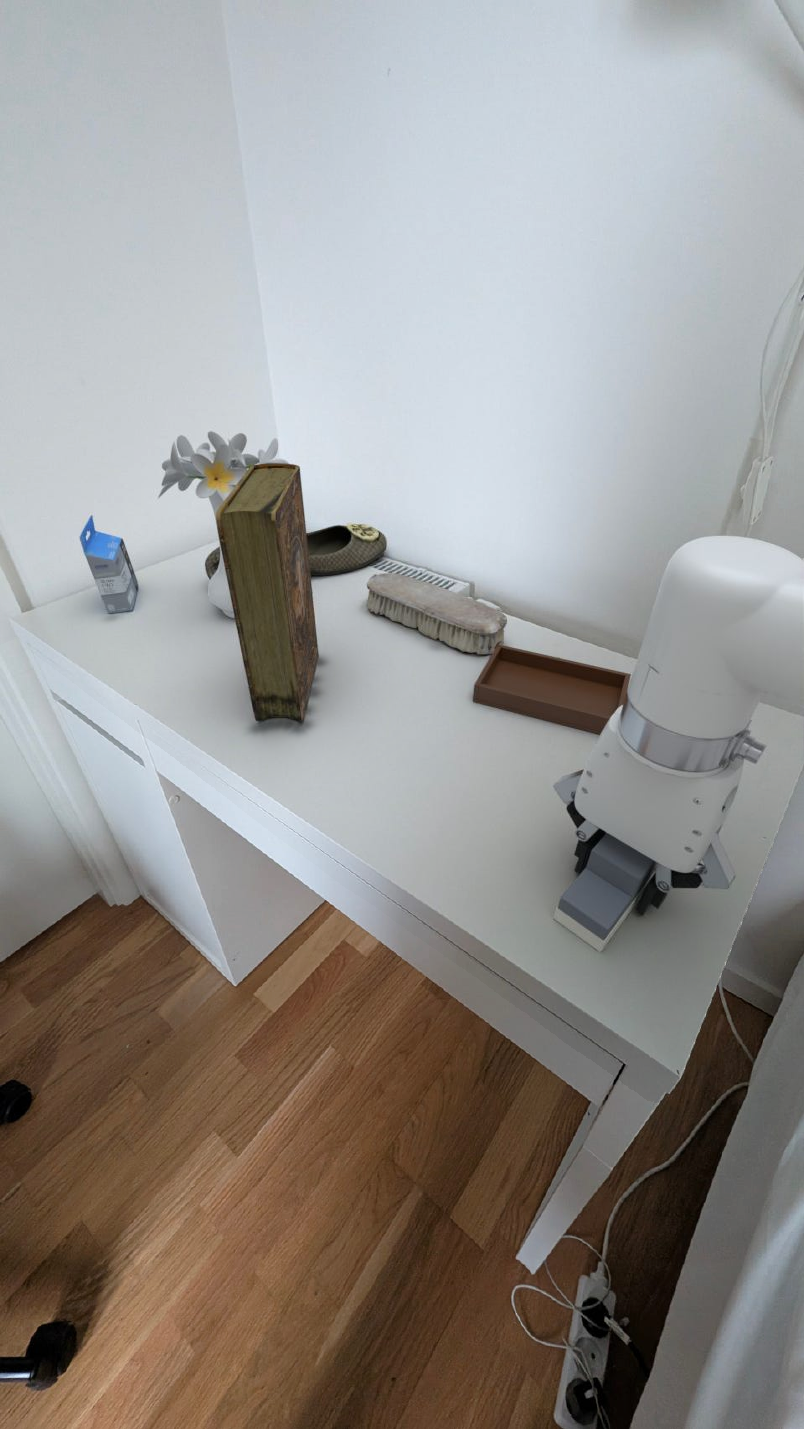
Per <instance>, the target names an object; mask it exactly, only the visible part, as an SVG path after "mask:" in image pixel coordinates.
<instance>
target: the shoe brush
mask: <svg viewBox="0 0 804 1429" xmlns="http://www.w3.org/2000/svg"><path fill="white" fill-rule="evenodd" d="M366 587H367V590H368V594H367V595H368V596H367V600H366V608H367V609H368V610H369V611H370V613H371V612H374V614H376V615H381V616H382V615H383V616H385V617H386V618H389V619H390V620H391V621H393V622H398V623H401V624H402V625H403V626H404V627H405V626H406V627H408V628H412V629H417V628H418V631H419V632H420V633H421V634H423V635H424V636H426V637H430V638H431V639H434V641H436V640H437V639H439V641H440V642H444V643H445V644H446V645H447V646H450V647H451V648H455V649H458V650H460V651H461V652H462V653H464V652H467V653H469V654H470V653H476V654H477V655H489V654H490V655H492V654H493V652H494V650H495V649H496V647H497V645H498V644H499V645H504V641H505V628H506V626H507V623H508V619H507V616H506V615H505V614H504V613H503V612H502V611H499V610H497V609H495V608H493V607H491V606H488V605H486V603H484V602H481V601H478V600H475V599H473V598H470V597H468V596H466V595H463V594H461V593H457V592H455V591H453V590H450V589H447V588H445V587H442V586H439V585H437V584H433V583H431V582H428V581H424V580H421V579H417V578H414V577H411V576H407V575H404V574H400V573H395V572H384V573H379V574H373V575H372V576H370V578H369V579H368V580H367V582H366Z"/></svg>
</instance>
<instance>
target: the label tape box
mask: <svg viewBox="0 0 804 1429" xmlns="http://www.w3.org/2000/svg"><path fill="white" fill-rule="evenodd" d="M94 522H95V521H94V516H93V515H92V514H91V515H90V516H89V518H88V519H87V521H86V523H85V524H84V526H83V528H82V530H81V532H80V534H79V541H80V544H81V548H82V552H83V554H84V557H85V558H86V562H87V564H88V566H89V569H90V572H91V575H92V577H93V579H94V582H95V584H96V588H97V589H98V593H99V595H100V598H101V599H102V602H103V604H104V607H105V610H106V612H107V614H116V613H117V614H118V613H124V612H125V613H126V612H130V611H131V612H132V611H133V610H134V607H135V602H136V598H137V594H138V590H139V581H138V579H137V576H136V573H135V570H134V567H133V565H132V562H131V559H130V556H129V553H128V550H127V547H126V545H125V544H126V543H125V541H124V539H123V538H121V537H119V536H115V535H113V534H108V533H106V532H105V533H104V532H101V531H97V530H96V527H95V523H94ZM88 533H89V535H88ZM87 536H88V537H87Z"/></svg>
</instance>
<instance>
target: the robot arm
mask: <svg viewBox="0 0 804 1429" xmlns="http://www.w3.org/2000/svg"><path fill="white" fill-rule="evenodd" d="M656 594H657V595H656V598H655V601H654V604H653V608H652V611H651V614H650V617H649V621H648V624H647V627H646V631H645V633H644V637H643V640H642V643H641V646H640V650H639V653H638V656H637V659H636V663H635V665H634V668H633V672H632V674H631V677H630V681H629V685H628V689H627V694H626V697H625V701H624V704H623V705H622V706H620V707H619V708H618V709H617V710H616V711H615V713H614V714H613V715H612V716H611V718H610V719H609V721H608V722H607V724H606V726H605V727H604V729H603V731H602V732H601V734H599V736H598V738H597V740H596V742H595V744H594V746H593V748H592V749H591V750H592V751H591V752H590V755H589V757H588V758H587V761H586V764H585V766H584V768H583V769H580V770H577V771H575V772H572V773H569V774H565V775H563V776H561V777H560V778H559V779H558V780H557V781H556V782H554V783H553V789H554V791H555V792H556V794H557V795H558V797H559V798H560V800H561V801H562V802H563V804H565V805H566V808H565V809H566V812H567V814H568V816H569V817H570V819H571V820H572V822H573V825H574V826H575V828H576V830H575V831H574V834H575V837H576V838H577V839H578V840H577V843H576V847H575V851H574V854H573V855H574V856H575V857H576V858H577V860H576V864H575V867H574V872H575V873H576V874H578V876H579V875H580V874H581V873H582V872H583V870H584V869H585V868H586V866H587V863H588V860H589V857H590V854H591V851H592V849H593V848H594V847H595V846H596V845H597V844H598V842H599V841H600V840H601V839H602V838H603V837H604V836H605V834H606V833H609V834H610V835H612V836H614V837H615V838H617V839H619V840H620V841H622V842H624V843H625V844H627V845H629V846H630V847H632V848H634V849H635V850H637V851H639V852H640V853H642V854H644V855H645V856H647V857H649V858H651V859H652V860H654V861H655V874H654V875H653V876H652V878H651V879H650V880H649V882H648V883H647V885H646V887H645V889H644V891H643V894H642V896H641V897H640V899H639V900H638V901H637V905H636V907H635V908H634V909H635V911H636V913H637V914H638V915H639V916H642V917H643V916H645V914H646V912H647V910H648V909H649V908H650V907H651V906H653V907H654V908H656V909H660V907H661V906H662V904H663V903H664V901H665V900H666V898H667V896H668V894H669V893H670V892H671V891H672V890H673V889H698V888H699V887H704V888H708V889H719V890H728V889H730V887H731V885H732V884H733V882H734V881H735V879H736V873H735V871H734V868H733V866H732V864H731V861H730V859H729V857H728V854H727V852H726V850H725V848H724V845H723V843H722V841H721V839H720V837H719V836H720V835H719V834H720V833H721V831H722V828H723V827H724V824H725V822H726V820H727V817H728V816H729V812H730V811H731V808H732V805H733V803H734V800H735V798H736V795H737V792H738V789H739V786H740V781H741V779H742V775H743V770H744V765H745V764H744V762H745V761H748V762H750V763H752V764H755V765H756V764H757V763H758V762H759V760H760V758H761V757H762V755H763V754H764V752H765V749H767V745H766V744H764V743H762V742H759V741H757V740H756V738H755V737H753V736H751V735H750V734H751V732H752V731H751V729H750V730H749V727H750V725H751V722H752V720H753V719H752V717H753V715H754V713H755V711H756V709H757V707H758V705H759V703H760V701H761V699H762V697H763V695H764V694H766V695H769V696H771V697H773V698H776V699H779V700H781V701H783V702H786V703H788V704H790V705H793V706H795V707H797V708H800V709H803V710H804V557H803V558H801V557H800V556H798V555H797V554H795V553H794V552H792V551H790V550H788V549H786V548H785V547H781V546H779V545H777V544H773V543H771V542H768V541H764V540H760V539H757V538H751V537H746V536H737V535H709V536H703V537H698V538H695V539H693V540H690V541H688V542H685V543H684V544H683V545H682V546H680V547H679V548H678V549H677V550H676V551H675V552H674V553H673V554H672V556H671V557H670V559H669V560H668V562H667V564H666V567H665V570H664V572H663V575H662V578H661V581H660V585H659V589H658V591H657V593H656ZM701 861H702V862H703V863H701Z"/></svg>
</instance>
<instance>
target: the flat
mask: <svg viewBox="0 0 804 1429" xmlns="http://www.w3.org/2000/svg"><path fill="white" fill-rule="evenodd" d="M306 535H307V544H308V554H309V564H310V574H311V576H327V575H329V576H330V575H337V574H340V573H347V572H353V571H355V570H357V569H359V568H362V567H365V566H367V565H368V564H371V563H372V562H374V561H376V560H377V559H378V558H379V557H381V556H382V555H383V554H384V553H385V552H386V550H387V547H388V544H387V543H388V540H387V537H386V536H385V534H384V533H383V532H382V531H380V530H378V529H376V528H375V527H374V526H371V525H369V524H365V523H351V522H347V523H346V525H344V524H343V525H342V524H336V525H331V526H327V527H325V528H321V529H317V530H313V531H309V532H306ZM219 561H220V545H219V546H218V547H216V548H215V549H213V550H211V552H210V553H209V554H208V555H207V557H206V559H205V562H204V569H205V573H206V576H207V577H208V579H209V580H210V579H211V577H212V576H213V575H214V573H215V572H216V571H217V569H218V566H219Z"/></svg>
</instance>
